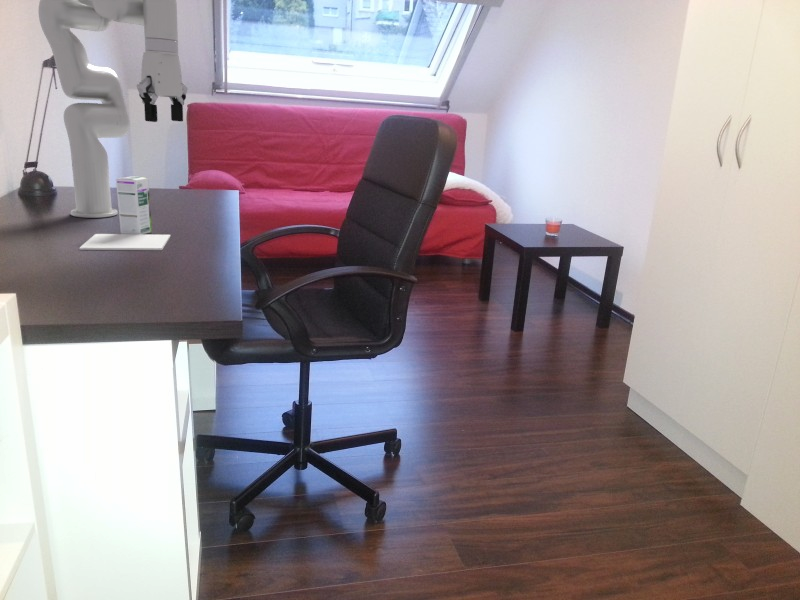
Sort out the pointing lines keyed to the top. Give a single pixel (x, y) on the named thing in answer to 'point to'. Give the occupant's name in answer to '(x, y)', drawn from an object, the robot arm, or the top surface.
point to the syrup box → (134, 205)
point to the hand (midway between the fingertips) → (164, 121)
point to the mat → (125, 242)
